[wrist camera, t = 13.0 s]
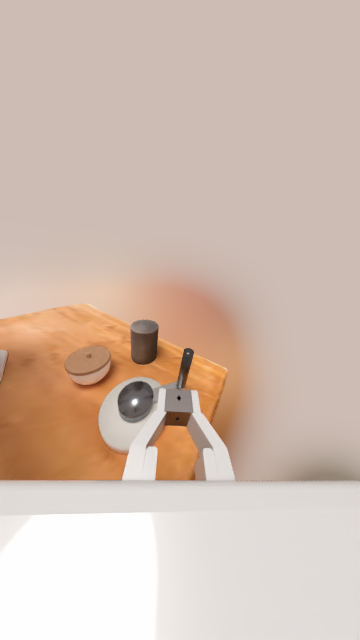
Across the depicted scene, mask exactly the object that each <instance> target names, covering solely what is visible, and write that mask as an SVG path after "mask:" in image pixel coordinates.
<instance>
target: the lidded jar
mask: <svg viewBox="0 0 360 640" xmlns="http://www.w3.org/2000/svg"><path fill="white" fill-rule="evenodd" d="M110 357H111V355H110V351H109V350H108V349H107V348H105V347H102V346H89V347H85V348H82V349H80V350H78V351H76V352H74V353H73V354H71V355H70V356H69V357H68V358H67V360H66V361H65V369H66V371H67V373H68V375H69V377H70V378H71V379H72V380H73V381H74V382H75V383H77V384H81V385H91V384H95V383H97V382H99V381H100V380H101V379H102V378H104V377H105V375H106V374H107V373H108V371H109V369H110V364H111V359H110Z"/></svg>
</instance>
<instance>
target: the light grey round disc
mask: <svg viewBox="0 0 360 640" xmlns="http://www.w3.org/2000/svg"><path fill="white" fill-rule="evenodd" d="M135 381H143V382H146V383H148V384H149V385H150V386H151V387H152V389H154V388H157V387H161V385H160V384H159V383H158V382H157V381H155V380H153V379H151V378H146V377H136V378H131V379H128V380H126V381H124V382H122V383H120V384H119V385H117V386H116V387H115V388H114V389H113V390H112V391H111V392H110V393H109V394H108V395H107V397H106V398H105V400H104V401H103V403H102V406H101V408H100V412H99V419H98V423H99V429H100V432H101V436H102V439H103V441H104V443H105V444H106V446H107V447H108V448H109V449H111V450H112V451H114V452H116V453H119V454H125V455H126V454H128V453H129V449H130V445H131V444H132V442H133V441H134V439H135V438H136V436H137V435H138V434H139V432H140V431H141V429H142V428H143V427H144V425H145V424H146V422H147V421H148V420H149V418H150V417H151V415H152V414H153V413H154V411H157V403H158V401H157V402H154V403H153V405H152V409H151V411H150V412H149V414H148V415H147V416H146V417H145V418H144V419H142V420H140V421H138V422H127V421H125V420H123V419H122V418H121V417H120V415H119V411H118V402H117V401H118V396H119V393H120V392H121V390H122V389H123V388H124V387H125V386H126V385H128V384H130V383H132V382H135ZM163 428H164V427H163ZM162 430H163V429H162ZM161 432H162V431H161ZM159 435H160V434H159Z"/></svg>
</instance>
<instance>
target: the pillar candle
mask: <svg viewBox="0 0 360 640" xmlns="http://www.w3.org/2000/svg"><path fill="white" fill-rule="evenodd" d="M130 328H131V356H132V360H133V361H134V362H136V363H138V364H148V363H151V362H152V361H154V360H155V358H156V353H157V340H158V324H157V323H156V322H154V321H150V320H138V321H136V322H133V323H132V324H131V326H130Z"/></svg>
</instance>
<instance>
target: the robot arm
mask: <svg viewBox="0 0 360 640" xmlns="http://www.w3.org/2000/svg"><path fill="white" fill-rule="evenodd" d="M7 357H8V352H7V351H4V350H0V382H1V379H2V376H3V372H4V368H5V364H6V360H7ZM164 425H172V426H187V429H188V431H189V433H190V435H191V437H192V439H193V441H194V443H195V445H196V447H197V449H198V451H199V454H200V456H199V458H198V460H197V462H196V463H195V465H194V467H195V480H155V474H156V462H157V451H158V449H157V448H156V447H153V445H154V444H155V442H156V440H157V438H158V436H159V434H160V433H161V431H162V429H163V427H164ZM0 640H360V481H235V477H234V473H233V469H232V465H231V462H230V458H229V454H228V450H227V448H226V446H225V445H224V443H223V442H222V440H221V439H220V437H219V436H218V435H217V433H216V432H215V431H214V429H213V427H212V426H211V425H210V423H209V422H208V420H207V419H206V417H205V416H204V414H201V410H200V404H199V398H198V392H197V391H196V390H184V389H168V388H159V395H158V403H157V411H154V413H153V414H152V415H151V417H150V418H149V420H148V421H147V422H146V424H145V425H144V427H143V428H142V429H141V431H140V432H139V434H138V435H137V436H136V438H135V439H134V441H133V442H132V444H131V445H130V449H129V453H128V457H127V461H126V465H125V470H124V474H123V478H122V480H0Z"/></svg>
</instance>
